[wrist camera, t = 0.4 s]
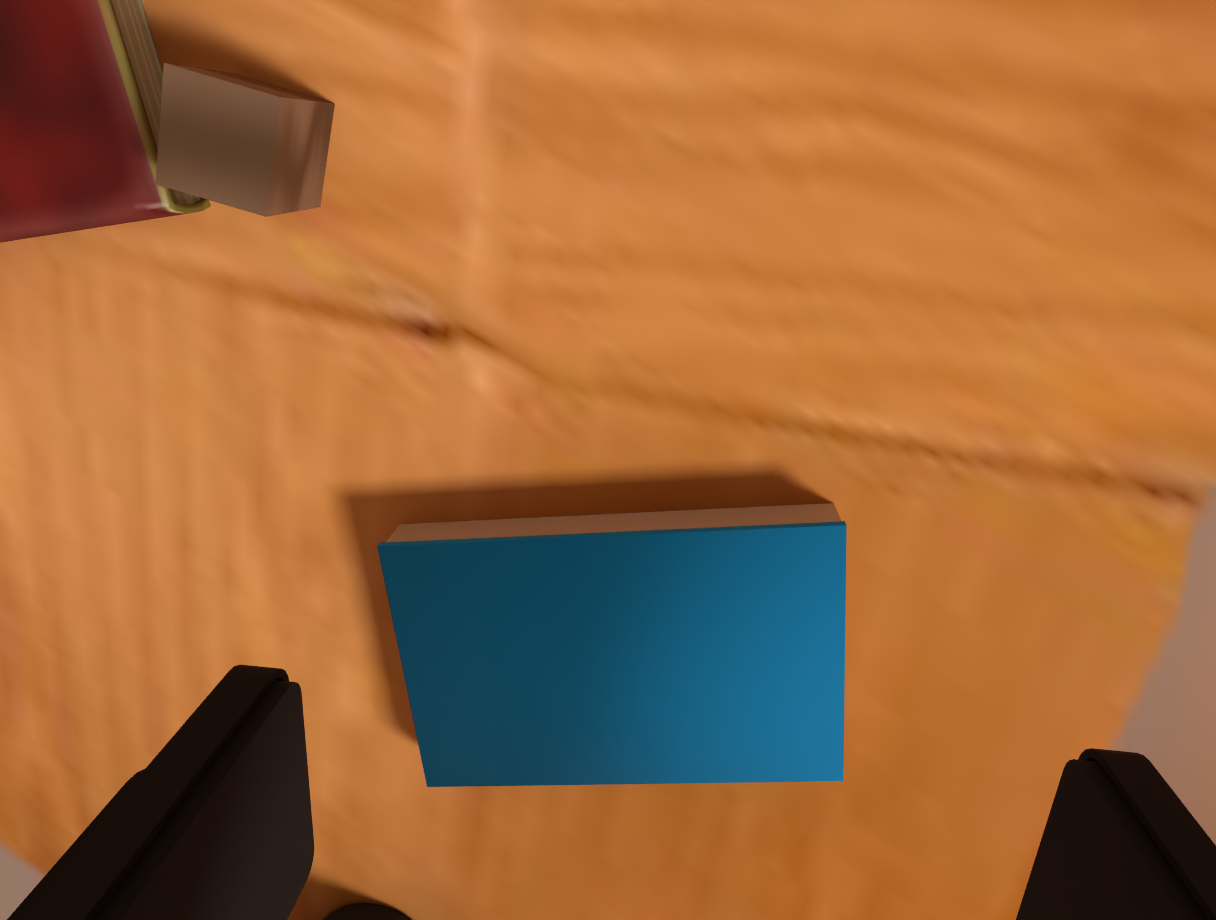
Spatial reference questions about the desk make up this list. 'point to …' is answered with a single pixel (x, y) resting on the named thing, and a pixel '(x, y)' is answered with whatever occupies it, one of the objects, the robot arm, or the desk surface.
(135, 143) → the hardcover book
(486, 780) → the book
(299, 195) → the walnut block
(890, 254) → the desk surface
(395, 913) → the pen holder
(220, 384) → the desk surface
